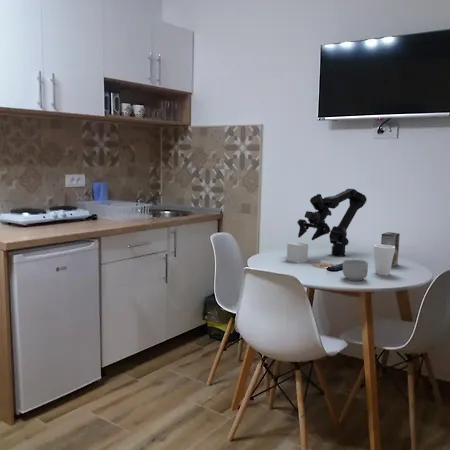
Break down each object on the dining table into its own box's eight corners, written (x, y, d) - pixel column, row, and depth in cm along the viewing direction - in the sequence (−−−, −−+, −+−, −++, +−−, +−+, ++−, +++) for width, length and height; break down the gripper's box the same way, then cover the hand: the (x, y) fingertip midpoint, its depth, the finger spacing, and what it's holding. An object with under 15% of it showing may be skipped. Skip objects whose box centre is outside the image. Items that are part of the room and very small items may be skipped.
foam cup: (379, 276, 208) (381, 248, 207) (367, 271, 217) (369, 244, 215) (397, 275, 211) (399, 247, 209) (385, 270, 220) (387, 244, 218)
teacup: (366, 283, 196) (367, 265, 195) (340, 280, 199) (341, 262, 198) (367, 276, 209) (368, 258, 208) (343, 273, 212) (344, 256, 211)
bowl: (327, 264, 227) (328, 260, 227) (329, 266, 223) (330, 261, 223) (319, 264, 227) (320, 259, 227) (321, 266, 223) (321, 261, 223)
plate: (334, 264, 232) (334, 263, 232) (341, 270, 219) (341, 269, 219) (308, 263, 232) (308, 262, 232) (314, 269, 219) (314, 268, 219)
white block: (296, 259, 240) (297, 242, 239) (307, 261, 234) (308, 244, 233) (286, 260, 236) (287, 243, 234) (297, 263, 230) (298, 245, 229)
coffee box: (385, 262, 240) (387, 231, 237) (397, 264, 236) (400, 233, 233) (378, 265, 233) (381, 233, 230) (391, 267, 228) (394, 235, 226)
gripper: (300, 204, 245) (284, 225, 240) (328, 207, 231) (312, 230, 225) (309, 218, 251) (294, 239, 246) (337, 222, 236) (321, 245, 231)
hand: (305, 238), depth 237 cm, fingers open, 9 cm apart
